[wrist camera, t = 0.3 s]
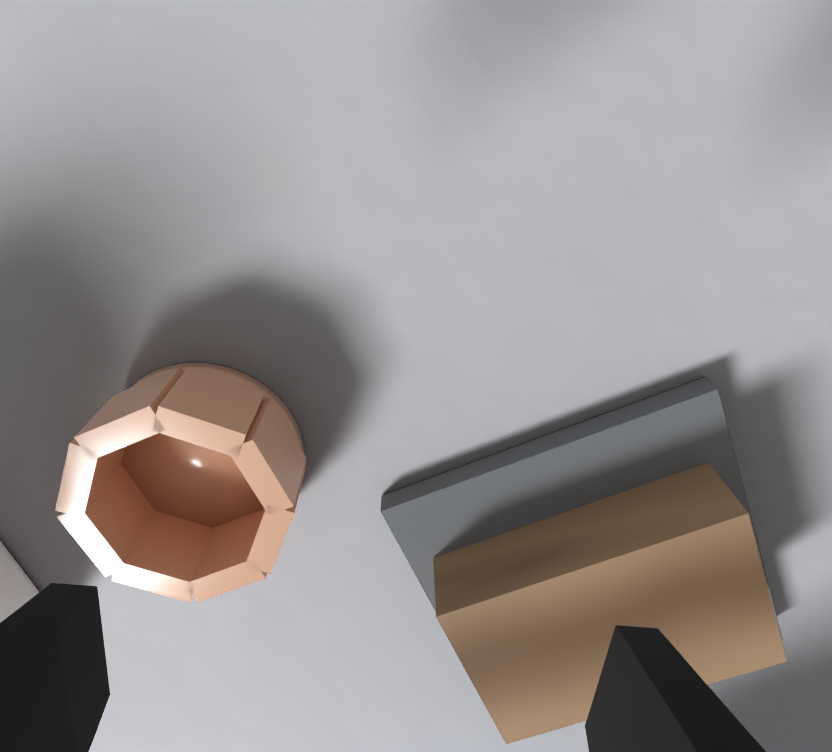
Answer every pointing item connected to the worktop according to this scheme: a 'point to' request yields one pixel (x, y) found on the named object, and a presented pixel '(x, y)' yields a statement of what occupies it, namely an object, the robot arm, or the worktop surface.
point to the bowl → (185, 482)
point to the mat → (563, 474)
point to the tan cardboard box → (606, 597)
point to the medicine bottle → (13, 585)
